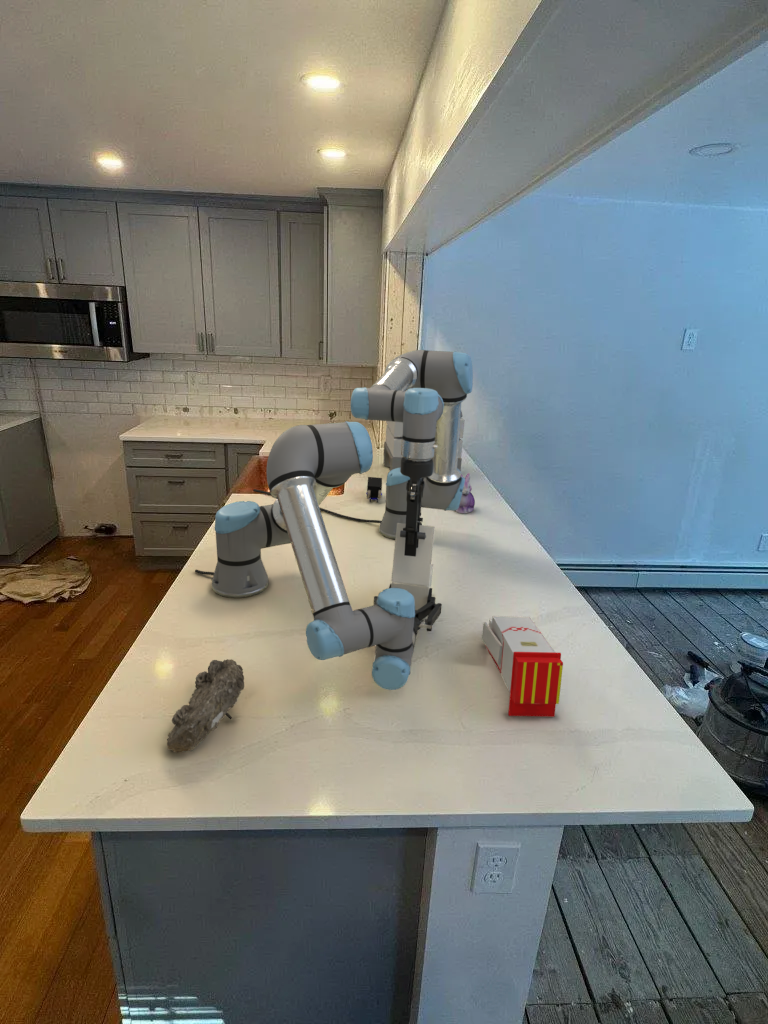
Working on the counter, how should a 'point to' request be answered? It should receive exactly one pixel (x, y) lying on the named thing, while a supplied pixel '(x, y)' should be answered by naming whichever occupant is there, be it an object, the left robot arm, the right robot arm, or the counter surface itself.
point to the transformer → (395, 441)
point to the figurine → (466, 497)
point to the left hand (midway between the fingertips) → (410, 590)
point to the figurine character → (374, 488)
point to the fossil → (206, 705)
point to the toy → (525, 665)
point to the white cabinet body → (416, 591)
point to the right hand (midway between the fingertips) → (411, 550)
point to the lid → (410, 566)
